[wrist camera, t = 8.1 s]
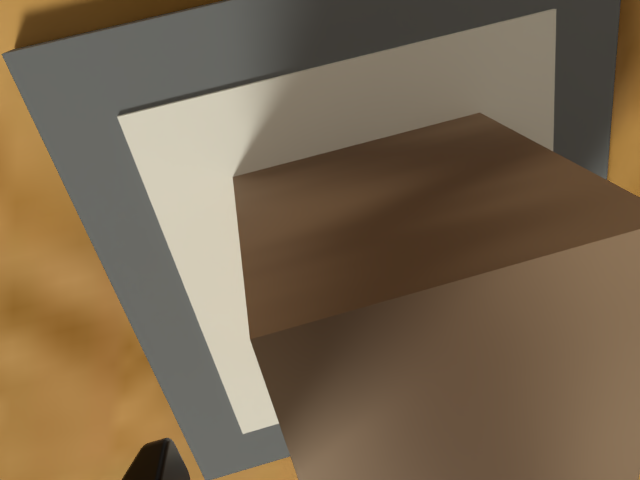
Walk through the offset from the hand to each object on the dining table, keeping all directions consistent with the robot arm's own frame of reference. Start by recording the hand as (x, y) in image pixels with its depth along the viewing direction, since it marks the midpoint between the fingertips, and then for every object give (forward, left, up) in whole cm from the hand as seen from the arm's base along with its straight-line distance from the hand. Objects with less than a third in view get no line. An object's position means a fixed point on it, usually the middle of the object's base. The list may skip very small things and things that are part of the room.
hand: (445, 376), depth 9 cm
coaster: (0, 0, -5) cm, 5 cm away
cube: (0, 0, -4) cm, 4 cm away
